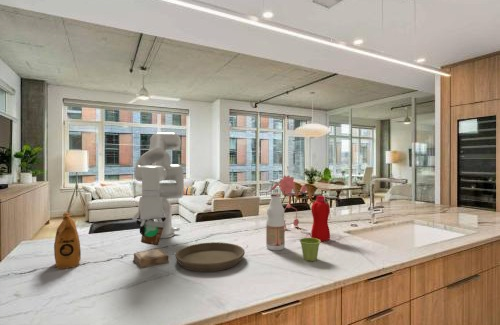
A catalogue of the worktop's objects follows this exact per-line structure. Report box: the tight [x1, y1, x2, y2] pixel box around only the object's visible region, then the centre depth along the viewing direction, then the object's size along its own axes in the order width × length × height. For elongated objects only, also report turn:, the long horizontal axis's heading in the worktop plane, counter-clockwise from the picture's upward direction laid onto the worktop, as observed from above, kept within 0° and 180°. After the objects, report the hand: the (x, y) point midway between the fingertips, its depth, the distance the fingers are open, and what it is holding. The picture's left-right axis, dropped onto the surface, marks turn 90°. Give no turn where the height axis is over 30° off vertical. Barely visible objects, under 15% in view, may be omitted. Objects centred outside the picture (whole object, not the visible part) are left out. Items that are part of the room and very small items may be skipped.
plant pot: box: [299, 237, 321, 262], centre depth 133 cm, size 9×9×9 cm
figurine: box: [269, 175, 308, 231], centre depth 196 cm, size 15×26×35 cm, turn 113°
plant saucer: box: [174, 242, 245, 273], centre depth 132 cm, size 31×31×5 cm
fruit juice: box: [265, 192, 286, 251], centre depth 150 cm, size 9×9×28 cm
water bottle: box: [310, 195, 331, 243], centre depth 165 cm, size 9×11×25 cm
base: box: [133, 248, 170, 269], centre depth 131 cm, size 12×12×3 cm
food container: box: [140, 220, 165, 246], centre depth 130 cm, size 12×6×10 cm, turn 52°
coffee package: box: [53, 212, 82, 270], centre depth 127 cm, size 10×12×22 cm
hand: (151, 233), depth 131 cm, fingers closed on food container, 6 cm apart
